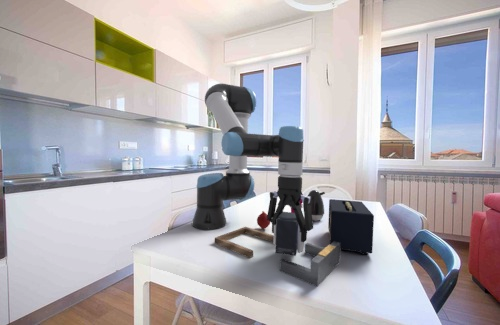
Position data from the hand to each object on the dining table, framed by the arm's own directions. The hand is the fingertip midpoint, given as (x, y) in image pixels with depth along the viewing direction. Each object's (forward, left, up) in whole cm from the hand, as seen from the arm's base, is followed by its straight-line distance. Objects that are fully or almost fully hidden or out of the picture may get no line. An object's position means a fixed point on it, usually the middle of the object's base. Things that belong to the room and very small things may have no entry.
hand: (288, 247), depth 70 cm
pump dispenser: (-12, +46, -4) cm, 48 cm away
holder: (-17, 0, -3) cm, 17 cm away
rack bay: (+8, 0, -3) cm, 9 cm away
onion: (-22, +16, -4) cm, 27 cm away
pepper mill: (-7, +17, -4) cm, 19 cm away
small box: (0, 0, -1) cm, 1 cm away
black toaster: (+10, +26, -4) cm, 28 cm away
